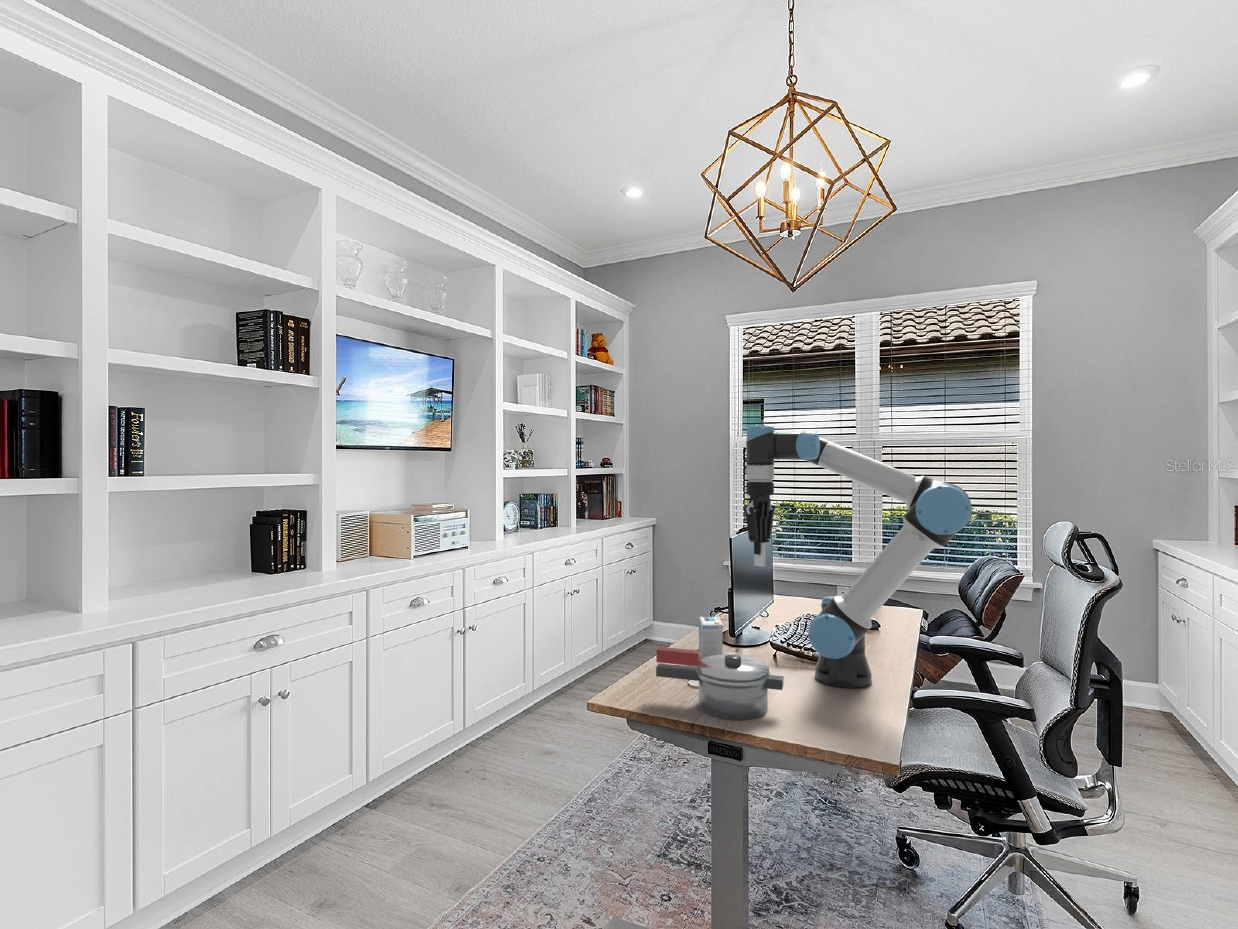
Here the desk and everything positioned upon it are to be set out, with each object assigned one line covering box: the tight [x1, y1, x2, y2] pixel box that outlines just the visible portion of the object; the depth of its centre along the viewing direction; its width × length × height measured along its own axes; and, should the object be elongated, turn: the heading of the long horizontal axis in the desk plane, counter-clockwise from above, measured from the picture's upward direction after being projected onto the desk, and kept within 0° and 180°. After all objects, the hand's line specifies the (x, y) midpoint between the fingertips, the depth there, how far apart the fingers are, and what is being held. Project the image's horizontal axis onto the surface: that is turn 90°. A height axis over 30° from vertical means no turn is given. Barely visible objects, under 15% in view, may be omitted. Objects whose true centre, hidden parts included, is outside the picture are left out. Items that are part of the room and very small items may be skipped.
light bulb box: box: [698, 616, 724, 659], centre depth 213 cm, size 11×7×11 cm, turn 178°
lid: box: [655, 646, 770, 682], centre depth 169 cm, size 28×18×4 cm, turn 71°
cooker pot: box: [655, 662, 785, 721], centre depth 169 cm, size 32×18×9 cm, turn 71°
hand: (759, 565), depth 186 cm, fingers closed
